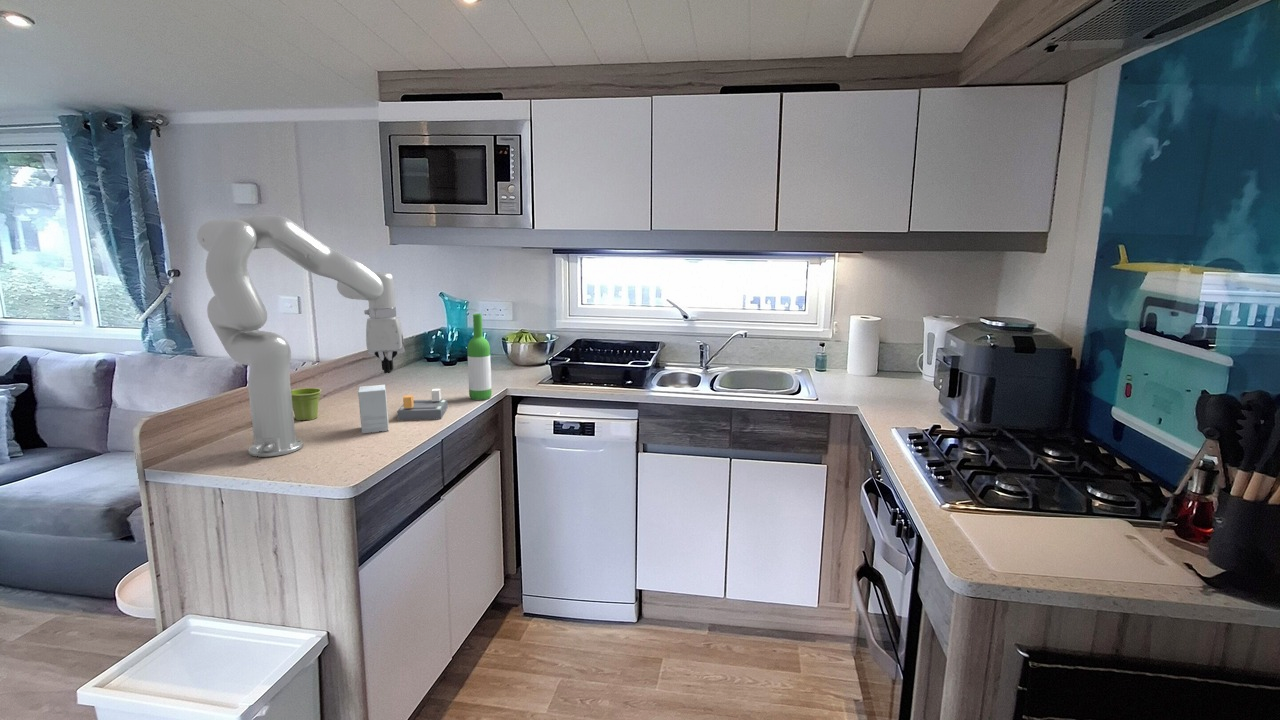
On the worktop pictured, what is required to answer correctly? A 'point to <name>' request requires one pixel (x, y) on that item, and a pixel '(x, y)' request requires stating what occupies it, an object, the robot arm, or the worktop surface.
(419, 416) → the slider switch panel
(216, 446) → the worktop surface
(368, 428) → the supplement box
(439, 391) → the white slider switch
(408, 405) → the block
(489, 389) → the wine bottle
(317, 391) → the plant pot
